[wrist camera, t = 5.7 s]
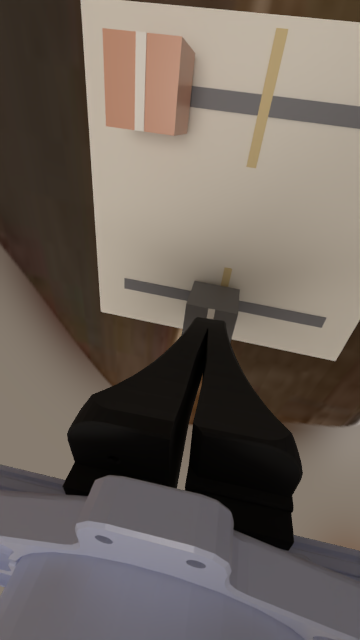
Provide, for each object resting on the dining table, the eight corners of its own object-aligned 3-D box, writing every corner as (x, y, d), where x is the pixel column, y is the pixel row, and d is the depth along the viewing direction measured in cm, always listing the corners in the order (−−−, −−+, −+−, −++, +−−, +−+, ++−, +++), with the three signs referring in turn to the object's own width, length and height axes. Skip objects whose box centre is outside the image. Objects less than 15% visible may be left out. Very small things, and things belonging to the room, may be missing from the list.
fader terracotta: (195, 53, 13) (181, 35, 10) (186, 133, 14) (173, 135, 12) (130, 45, 13) (101, 27, 10) (129, 125, 15) (105, 126, 12)
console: (497, 46, 12) (527, 37, 11) (330, 348, 22) (335, 362, 21) (95, 7, 14) (79, -5, 13) (108, 301, 24) (100, 312, 22)
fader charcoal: (239, 289, 19) (238, 315, 16) (230, 326, 20) (227, 354, 18) (194, 280, 19) (186, 304, 16) (188, 317, 21) (180, 344, 18)
